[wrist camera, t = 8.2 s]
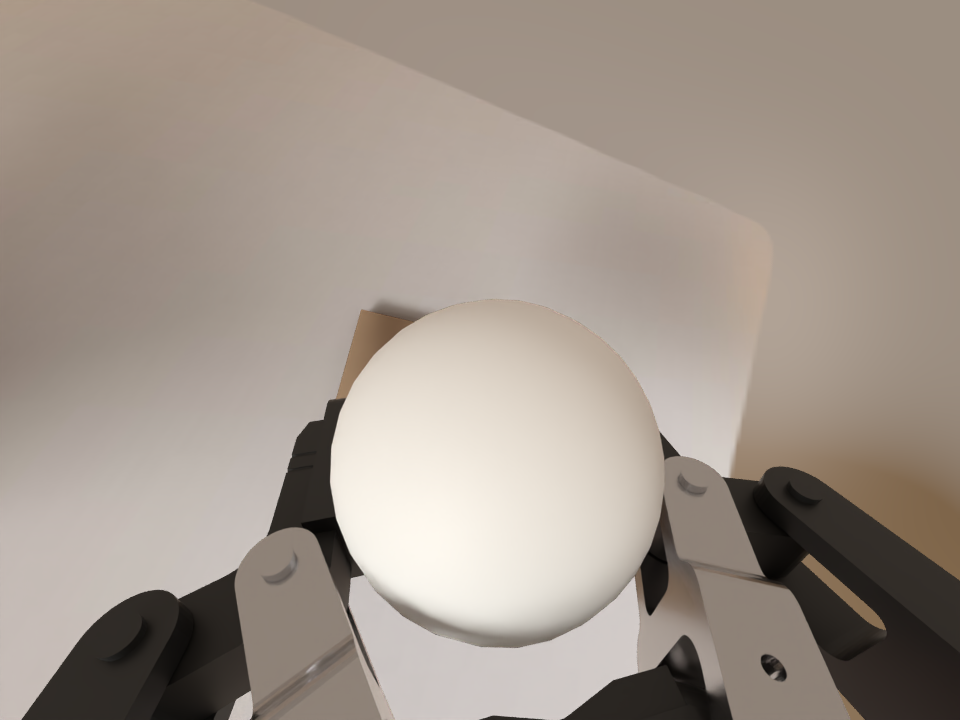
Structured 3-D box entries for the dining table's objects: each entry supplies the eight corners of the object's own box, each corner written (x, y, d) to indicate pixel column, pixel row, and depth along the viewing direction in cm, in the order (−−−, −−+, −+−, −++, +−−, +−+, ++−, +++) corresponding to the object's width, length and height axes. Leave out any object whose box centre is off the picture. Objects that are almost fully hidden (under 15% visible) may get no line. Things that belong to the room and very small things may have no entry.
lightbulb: (386, 362, 15) (395, 163, 5) (519, 400, 16) (764, 309, 6) (336, 515, 13) (166, 752, 3) (490, 547, 14) (776, 796, 4)
